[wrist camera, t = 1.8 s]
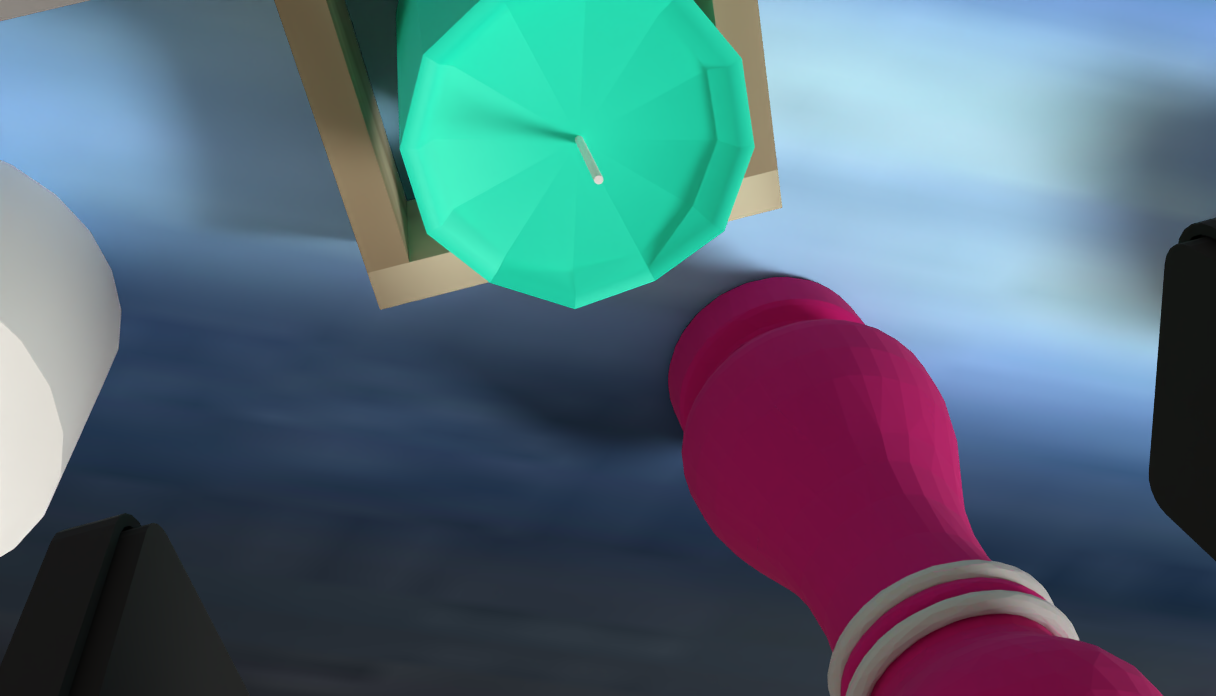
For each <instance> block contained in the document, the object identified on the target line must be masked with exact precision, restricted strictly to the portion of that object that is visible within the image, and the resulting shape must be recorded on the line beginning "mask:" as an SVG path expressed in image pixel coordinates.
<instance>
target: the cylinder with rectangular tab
mask: <svg viewBox="0 0 1216 696" xmlns="http://www.w3.org/2000/svg"><path fill="white" fill-rule="evenodd" d="M120 323H121V307H120V302H119V298H118V294H117V290H116V285H115V281H114V277H113V273H112V270H111V268H110V266H109V264H108V262H107V261H106V259H105V257H104V255H103V254H102V252H101V250H100V248H99V246H98V245H97V243H96V241H95V239H94V237H93V236H92V234H91V232H90V231H89V229H88V228H87V227H86V226H85V225H84V224H83V223H82V222H81V221H80V220H79V219H78V218H77V217H76V216H75V215H74V213H73V212H72V211H71V210H70V209H69V208H68V207H67V206H66V205H65V204H64V203H63V202H62V201H61V200H60V199H59V197H58V196H57V195H56V194H54V193H53V192H51V191H50V190H48V189H47V188H45V187H44V186H42V185H41V184H39V183H38V182H36V181H35V180H33V179H32V178H31V177H29V176H28V175H26V174H25V173H23V172H22V171H20V170H19V169H17V168H16V167H14V166H13V165H11V164H9V163H6V162H4V161H1V160H0V557H1V556H2V555H4V554H6V553H7V552H9V551H11V550H12V549H14V548H15V547H16V546H17V545H18V544H19V543H20V541H21V540H22V539H23V538H24V537H25V536H26V535H27V534H28V533H29V532H30V530H31V529H32V528H33V527H34V526H35V525H36V524H37V523H38V522H39V521H40V519H41V518H42V517H43V516H44V514H45V512H46V510H47V508H48V506H49V503H50V501H51V499H52V497H53V494H54V492H55V490H56V488H57V486H58V483H59V481H60V479H61V477H62V474H63V472H64V470H65V468H66V466H67V463H68V461H69V459H70V457H71V454H72V452H73V450H74V448H75V446H76V443H77V441H78V439H79V437H80V434H81V432H82V430H83V428H84V426H85V423H86V421H87V419H88V417H89V414H90V412H91V410H92V408H93V406H94V403H95V401H96V399H97V397H98V394H99V392H100V390H101V388H102V386H103V383H104V381H105V379H106V376H107V374H108V372H109V369H110V367H111V365H112V363H113V360H114V358H115V356H116V353H117V351H118V348H119V335H120Z"/></svg>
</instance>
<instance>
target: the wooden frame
mask: <svg viewBox="0 0 1216 696" xmlns="http://www.w3.org/2000/svg"><path fill="white" fill-rule="evenodd" d="M274 1H275V4H276V7H277V10H278V13H279V16H280V19H281V22H282V24H283V27H284V30H285V33H286V36H287V39H288V42H289V45H290V48H291V51H292V54H293V57H294V60H295V62H296V65H297V68H298V71H299V74H300V77H301V80H302V83H303V86H304V89H305V92H306V95H307V97H308V100H309V103H310V106H311V109H312V112H313V115H314V118H315V121H316V124H317V127H318V130H319V133H320V135H321V138H322V141H323V144H324V147H325V150H326V153H327V156H328V159H329V162H330V165H331V168H332V171H333V173H334V176H335V179H336V182H337V185H338V188H339V191H340V194H341V197H342V200H343V203H344V206H345V209H346V211H347V214H348V217H349V220H350V223H351V226H352V229H353V232H354V235H355V238H356V241H357V244H358V247H359V249H360V252H361V255H362V258H363V261H364V264H365V267H366V270H367V273H368V276H369V279H370V282H371V285H372V287H373V290H374V293H375V296H376V299H377V302H378V305H379V308H380V310H381V309H385V308H389V307H393V306H397V305H401V304H405V303H409V302H413V301H417V300H421V299H425V298H429V297H433V296H436V295H440V294H444V293H448V292H452V291H456V290H460V289H464V288H468V287H472V286H476V285H480V284H484V283H488V281H487V280H486V279H484V278H483V277H482V276H481V275H479V274H478V273H477V272H475V271H474V270H473V269H472V268H470V267H469V266H468V265H466V264H465V263H464V262H463V261H461V260H460V259H459V258H457V257H456V256H455V255H453V254H452V253H451V252H450V251H448V250H447V249H446V248H444V247H443V246H442V245H441V244H439V243H438V242H437V241H435V240H434V239H433V238H432V237H430V236H429V235H428V234H427V233H426V230H425V227H424V224H423V220H422V217H421V214H420V211H419V208H418V205H417V202H416V199H413V200H409V201H407V200H406V197H405V193H404V190H403V187H402V184H401V181H400V177H399V174H398V171H397V168H396V164H395V161H394V158H393V155H392V151H391V148H390V145H389V142H388V139H387V135H386V132H385V129H384V126H383V122H382V119H381V116H380V113H379V109H378V106H377V103H376V100H375V97H374V93H373V90H372V87H371V84H370V80H369V77H368V74H367V71H366V67H365V64H364V61H363V58H362V55H361V51H360V48H359V45H358V42H357V38H356V35H355V32H354V29H353V25H352V22H351V19H350V16H349V13H348V9H347V6H346V3H345V0H274ZM694 2H695V3H696V4H697V5H698V6H699V8H700V9H701V10H702V11H703V12H704V14H705V15H706V16H707V17H708V18H709V20H710V21H711V22H712V23H713V24H714V26H715V27H716V28H717V29H718V30H719V32H720V33H721V34H722V35H723V36H724V38H725V39H726V40H727V41H728V42H729V44H730V45H731V46H732V47H733V48H734V50H735V51H736V52H737V53H738V54H739V56H740V57H741V58H742V63H743V69H744V76H745V83H746V90H747V97H748V104H749V111H750V118H751V125H752V131H753V138H754V145H755V148H754V151H753V153H752V156H751V159H750V162H749V164H748V167H747V170H746V173H745V175H744V178H743V181H742V184H741V186H740V189H739V192H738V195H737V197H736V200H735V203H734V206H733V208H732V211H731V214H730V217H729V219H728V221H732V220H736V219H740V218H743V217H747V216H751V215H755V214H759V213H763V212H767V211H771V210H775V209H779V208H782V202H781V194H780V186H779V177H778V169H777V160H776V152H775V143H774V135H773V126H772V118H771V110H770V101H769V93H768V84H767V76H766V67H765V59H764V50H763V42H762V34H761V25H760V17H759V8H758V0H694Z"/></svg>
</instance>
